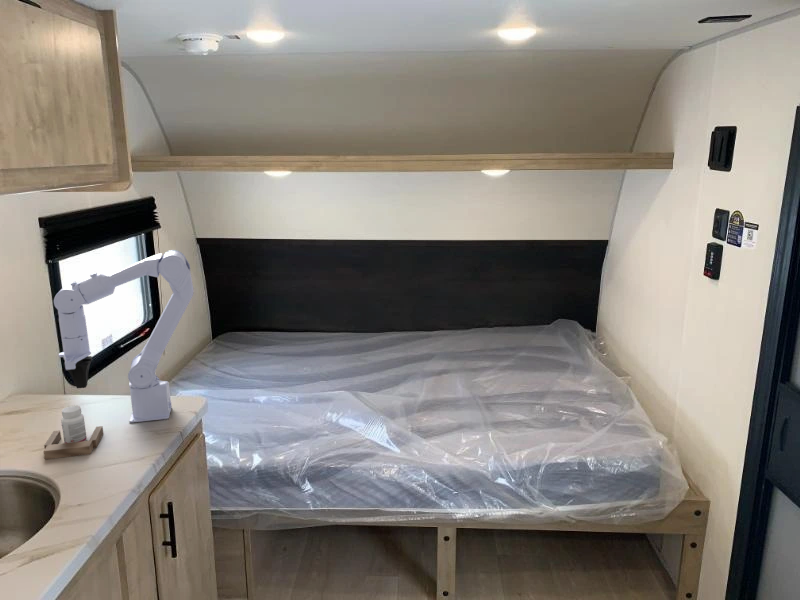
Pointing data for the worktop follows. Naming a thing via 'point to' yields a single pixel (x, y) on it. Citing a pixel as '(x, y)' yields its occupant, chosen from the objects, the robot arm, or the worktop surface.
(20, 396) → the worktop surface
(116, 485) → the worktop surface
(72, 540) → the worktop surface
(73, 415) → the pill bottle
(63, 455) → the notched board
